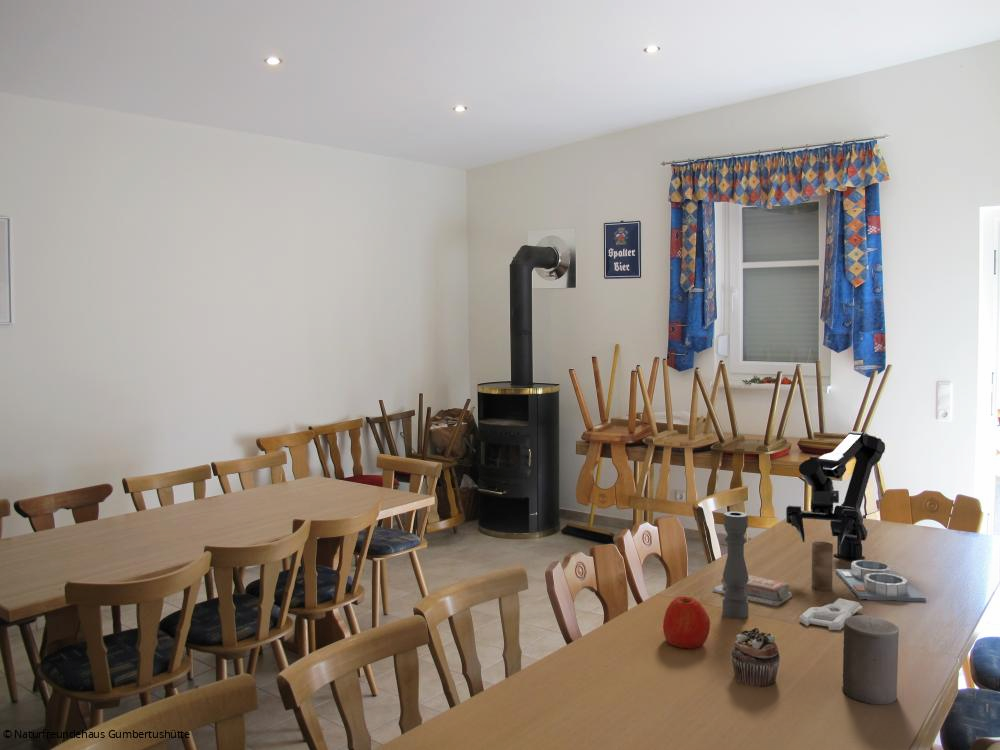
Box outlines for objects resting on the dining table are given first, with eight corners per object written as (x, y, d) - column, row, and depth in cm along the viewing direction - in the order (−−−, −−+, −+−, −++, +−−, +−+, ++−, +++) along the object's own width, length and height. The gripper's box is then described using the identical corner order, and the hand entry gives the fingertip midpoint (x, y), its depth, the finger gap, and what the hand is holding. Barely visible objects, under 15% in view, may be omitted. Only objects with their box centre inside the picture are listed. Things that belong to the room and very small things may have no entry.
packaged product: (793, 580, 211) (777, 589, 204) (793, 598, 211) (777, 608, 204) (729, 566, 223) (712, 575, 216) (729, 584, 224) (712, 593, 216)
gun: (823, 590, 205) (865, 599, 199) (823, 603, 206) (864, 613, 199) (796, 614, 192) (839, 624, 185) (796, 628, 192) (839, 639, 185)
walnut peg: (807, 586, 219) (807, 543, 218) (821, 583, 221) (821, 540, 220) (822, 592, 214) (822, 547, 214) (836, 589, 216) (837, 545, 216)
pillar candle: (833, 693, 156) (835, 617, 155) (854, 677, 163) (856, 604, 162) (886, 710, 149) (888, 631, 148) (905, 693, 156) (907, 617, 155)
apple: (714, 639, 184) (714, 594, 183) (701, 655, 175) (701, 608, 174) (671, 631, 189) (671, 587, 188) (656, 646, 180) (656, 600, 179)
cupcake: (788, 678, 163) (789, 629, 162) (764, 693, 156) (765, 643, 156) (745, 664, 170) (746, 617, 169) (721, 678, 163) (721, 630, 163)
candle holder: (726, 608, 203) (726, 510, 202) (751, 612, 200) (751, 512, 199) (719, 616, 198) (719, 515, 196) (744, 620, 195) (745, 518, 193)
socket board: (835, 572, 231) (835, 558, 231) (895, 574, 228) (895, 560, 228) (859, 599, 208) (859, 584, 208) (925, 601, 206) (925, 586, 206)
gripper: (786, 477, 229) (784, 524, 219) (858, 481, 222) (860, 530, 212) (787, 499, 236) (785, 546, 227) (857, 503, 230) (858, 552, 220)
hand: (821, 543), depth 221 cm, fingers open, 9 cm apart
